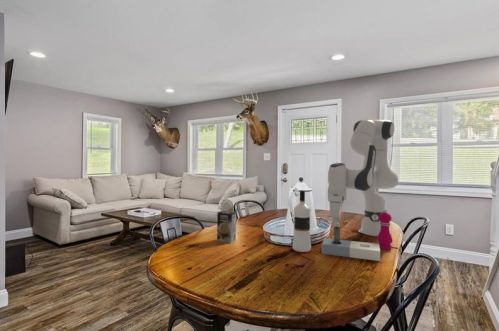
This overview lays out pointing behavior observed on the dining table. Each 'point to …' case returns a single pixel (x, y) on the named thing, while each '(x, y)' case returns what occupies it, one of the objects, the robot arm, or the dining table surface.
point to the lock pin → (337, 234)
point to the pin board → (351, 249)
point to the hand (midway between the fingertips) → (336, 223)
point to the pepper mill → (384, 231)
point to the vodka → (302, 226)
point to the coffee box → (226, 226)
